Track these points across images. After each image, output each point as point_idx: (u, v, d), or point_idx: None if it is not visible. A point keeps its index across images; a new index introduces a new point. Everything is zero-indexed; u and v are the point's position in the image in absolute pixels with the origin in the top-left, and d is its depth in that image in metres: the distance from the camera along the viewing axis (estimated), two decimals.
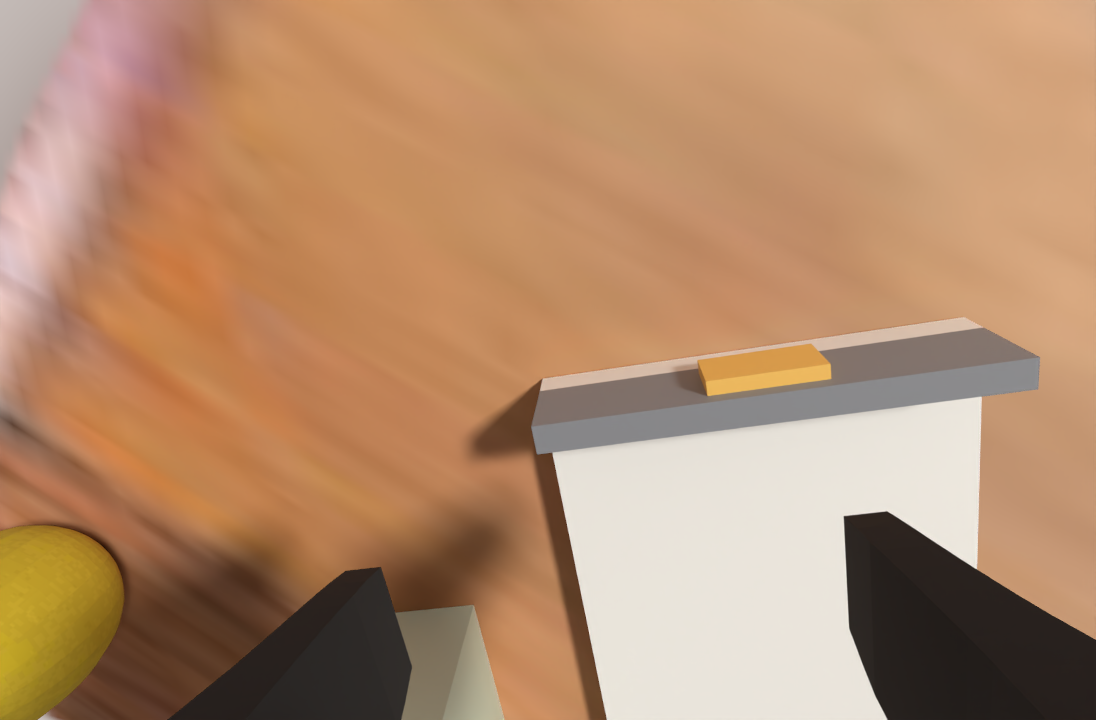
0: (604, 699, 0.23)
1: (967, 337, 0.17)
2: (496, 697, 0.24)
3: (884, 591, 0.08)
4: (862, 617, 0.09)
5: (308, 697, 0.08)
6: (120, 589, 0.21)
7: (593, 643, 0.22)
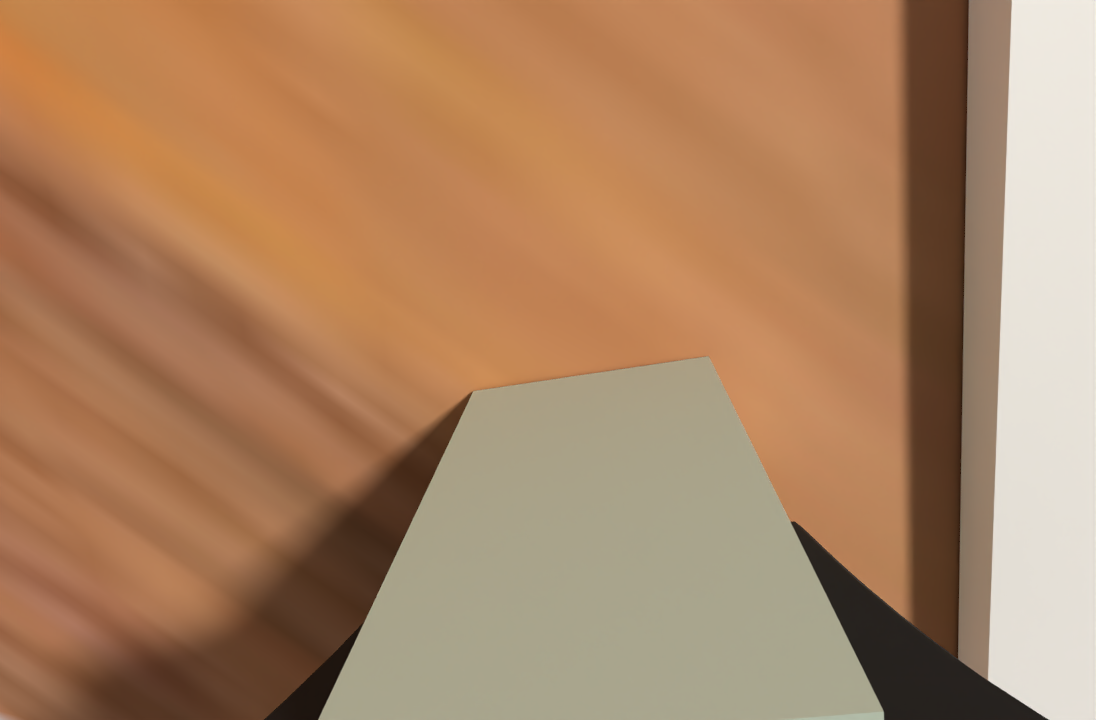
0: (996, 552, 0.10)
1: None
2: None
3: None
4: None
5: None
6: None
7: (1002, 414, 0.10)
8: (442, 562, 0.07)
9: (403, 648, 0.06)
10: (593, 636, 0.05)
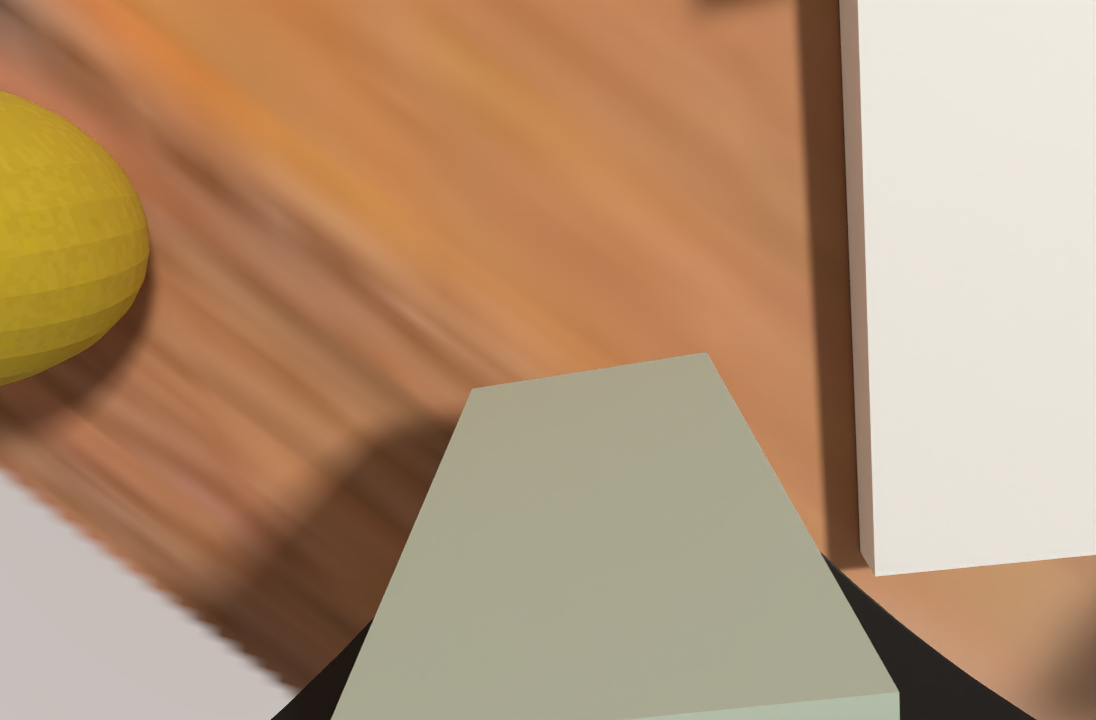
0: (873, 418, 0.15)
1: None
2: None
3: None
4: None
5: None
6: (145, 221, 0.14)
7: (870, 317, 0.14)
8: (450, 556, 0.07)
9: (416, 641, 0.06)
10: (607, 625, 0.05)
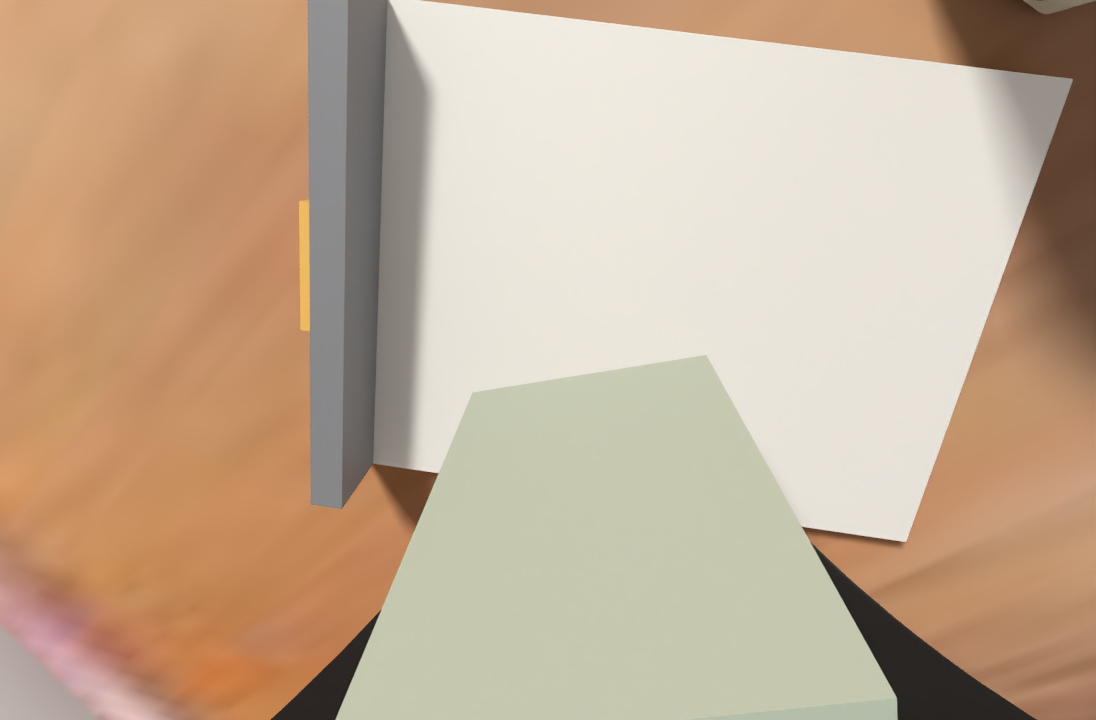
0: None
1: None
2: None
3: None
4: None
5: None
6: None
7: None
8: (451, 561, 0.07)
9: (417, 647, 0.06)
10: (608, 632, 0.05)
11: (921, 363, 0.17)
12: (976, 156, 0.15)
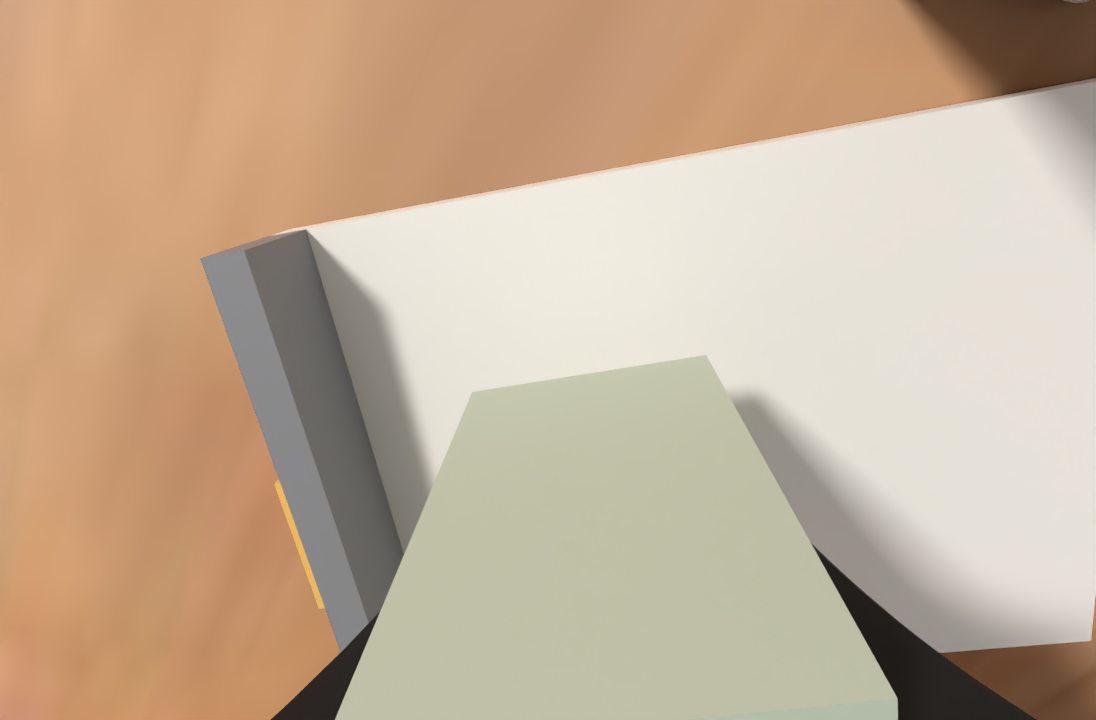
0: None
1: None
2: None
3: None
4: None
5: None
6: None
7: None
8: (451, 561, 0.07)
9: (417, 646, 0.06)
10: (608, 630, 0.05)
11: (1048, 442, 0.13)
12: (1045, 196, 0.12)
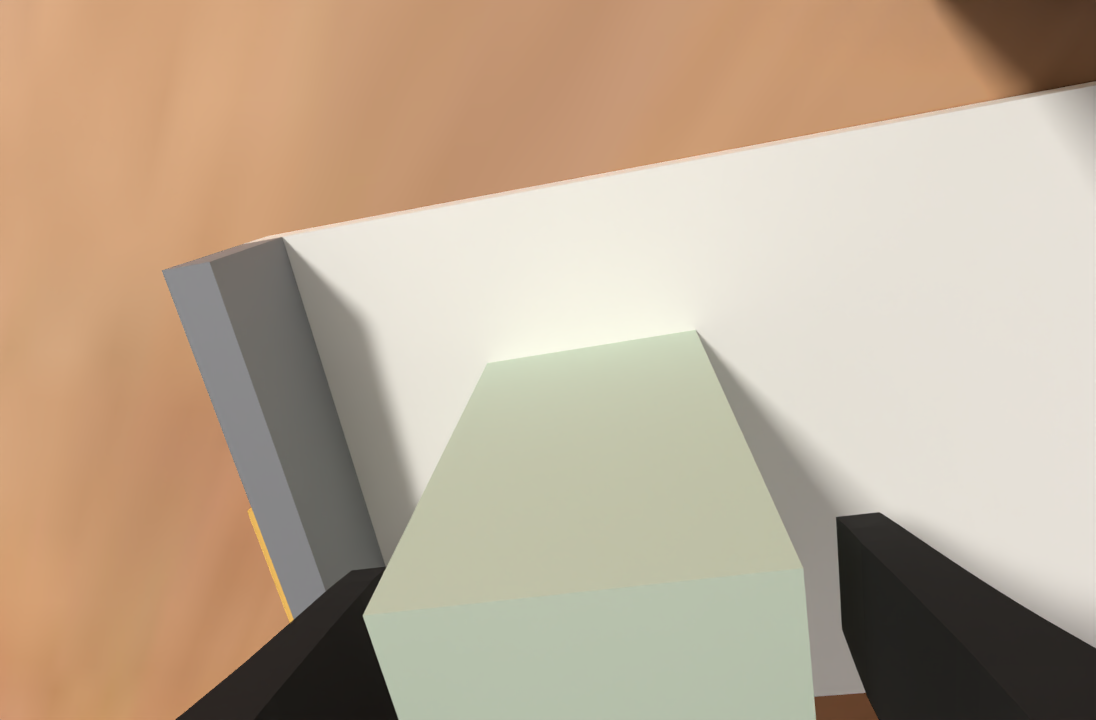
0: None
1: None
2: None
3: (875, 592, 0.08)
4: (854, 618, 0.09)
5: (316, 696, 0.08)
6: None
7: None
8: (465, 488, 0.08)
9: (437, 546, 0.07)
10: (589, 532, 0.07)
11: (1078, 464, 0.12)
12: (1079, 201, 0.11)
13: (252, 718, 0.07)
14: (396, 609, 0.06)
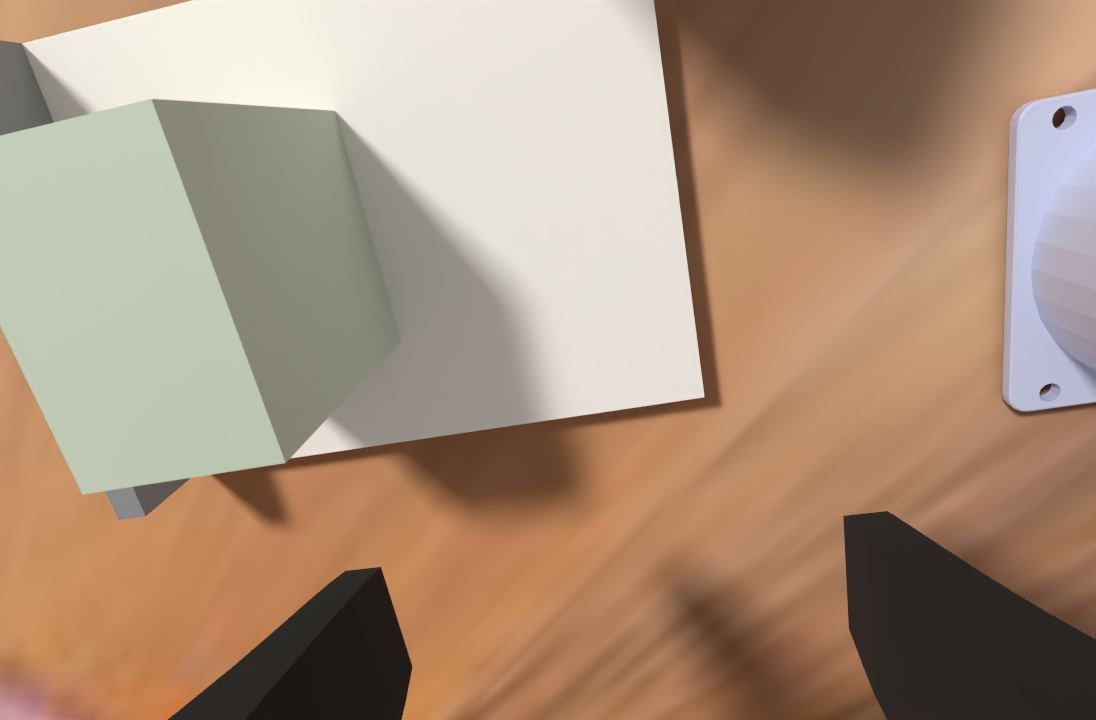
0: (546, 418, 0.18)
1: None
2: (377, 270, 0.17)
3: (884, 591, 0.08)
4: (862, 617, 0.09)
5: (308, 697, 0.08)
6: None
7: (463, 430, 0.19)
8: None
9: None
10: None
11: (633, 214, 0.16)
12: None
13: (243, 719, 0.07)
14: None
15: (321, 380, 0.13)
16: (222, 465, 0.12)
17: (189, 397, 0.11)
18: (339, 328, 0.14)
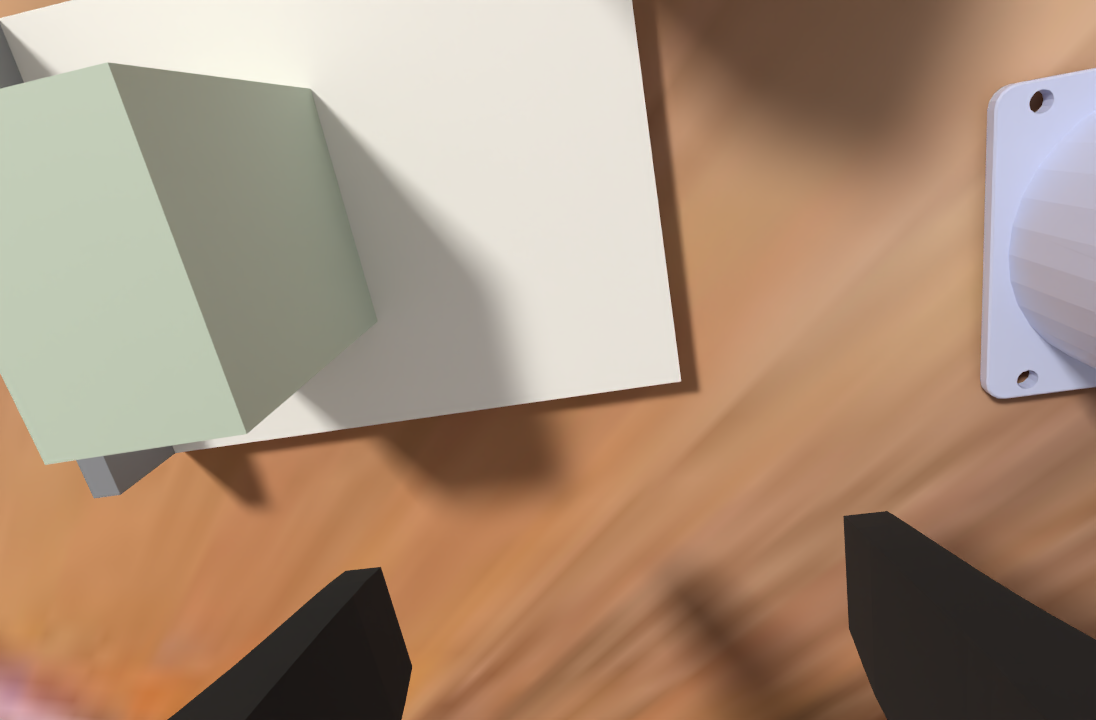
0: (523, 401, 0.18)
1: None
2: (353, 250, 0.17)
3: (884, 591, 0.08)
4: (862, 617, 0.09)
5: (308, 697, 0.08)
6: None
7: (440, 413, 0.19)
8: None
9: None
10: None
11: (609, 195, 0.16)
12: None
13: (243, 719, 0.07)
14: None
15: (288, 354, 0.13)
16: (183, 436, 0.11)
17: (150, 367, 0.11)
18: (309, 304, 0.14)
